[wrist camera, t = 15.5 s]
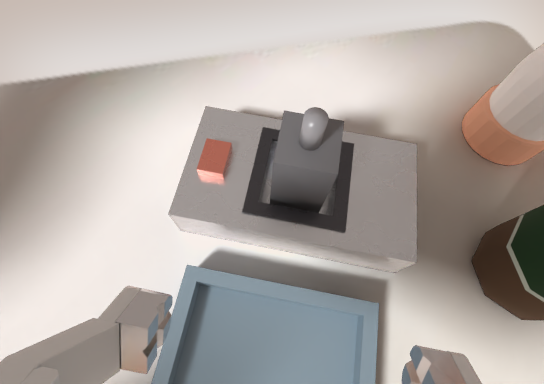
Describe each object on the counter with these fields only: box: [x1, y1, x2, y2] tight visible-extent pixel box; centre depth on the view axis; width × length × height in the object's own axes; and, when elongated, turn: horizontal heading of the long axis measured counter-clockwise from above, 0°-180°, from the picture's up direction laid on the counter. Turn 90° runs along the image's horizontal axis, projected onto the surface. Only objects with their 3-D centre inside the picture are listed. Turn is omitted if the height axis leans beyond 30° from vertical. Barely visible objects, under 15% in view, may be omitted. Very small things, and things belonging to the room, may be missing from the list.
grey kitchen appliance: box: [168, 106, 417, 273], centre depth 26 cm, size 18×10×5 cm, turn 79°
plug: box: [270, 107, 344, 213], centre depth 23 cm, size 4×4×10 cm
